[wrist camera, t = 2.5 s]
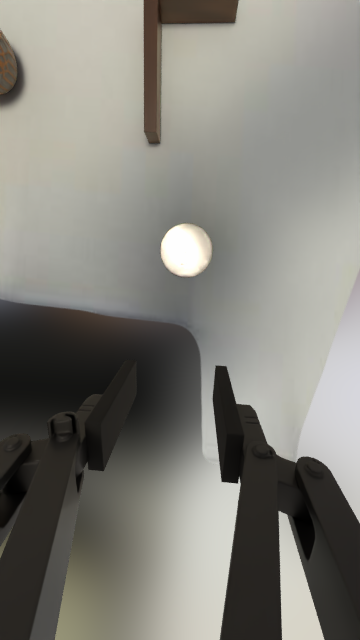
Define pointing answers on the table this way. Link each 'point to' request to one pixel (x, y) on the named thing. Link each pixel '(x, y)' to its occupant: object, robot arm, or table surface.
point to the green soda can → (186, 250)
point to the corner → (160, 7)
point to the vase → (7, 66)
